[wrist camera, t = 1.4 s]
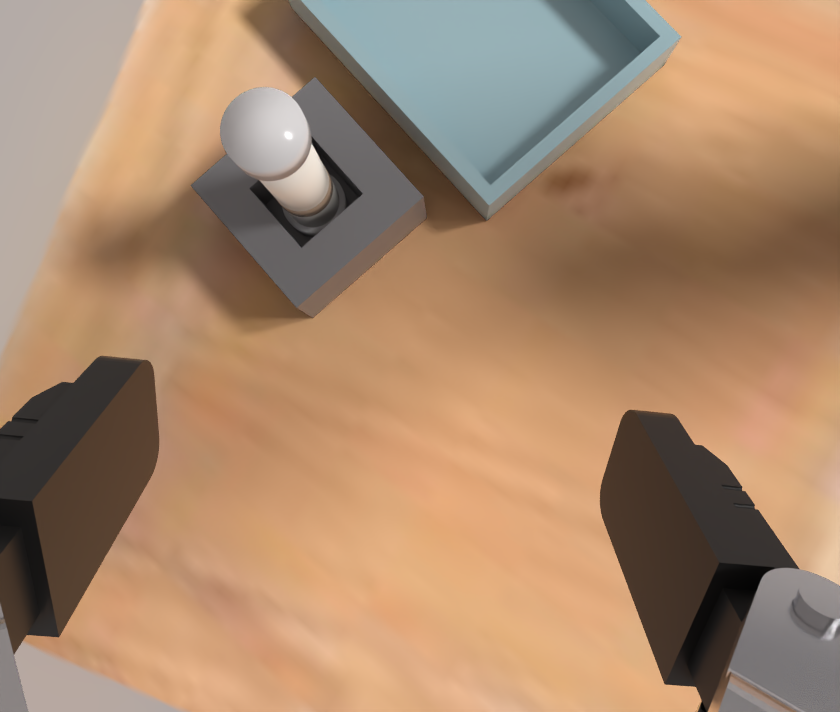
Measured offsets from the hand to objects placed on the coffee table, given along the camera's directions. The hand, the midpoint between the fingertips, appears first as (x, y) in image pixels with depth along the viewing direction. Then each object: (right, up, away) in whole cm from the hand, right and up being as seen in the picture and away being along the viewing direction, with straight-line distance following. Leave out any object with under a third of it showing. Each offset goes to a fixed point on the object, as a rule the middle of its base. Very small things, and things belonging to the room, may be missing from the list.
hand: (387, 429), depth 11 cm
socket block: (-5, +10, +28) cm, 30 cm away
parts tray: (+4, +21, +28) cm, 35 cm away
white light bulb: (-5, +10, +27) cm, 29 cm away
